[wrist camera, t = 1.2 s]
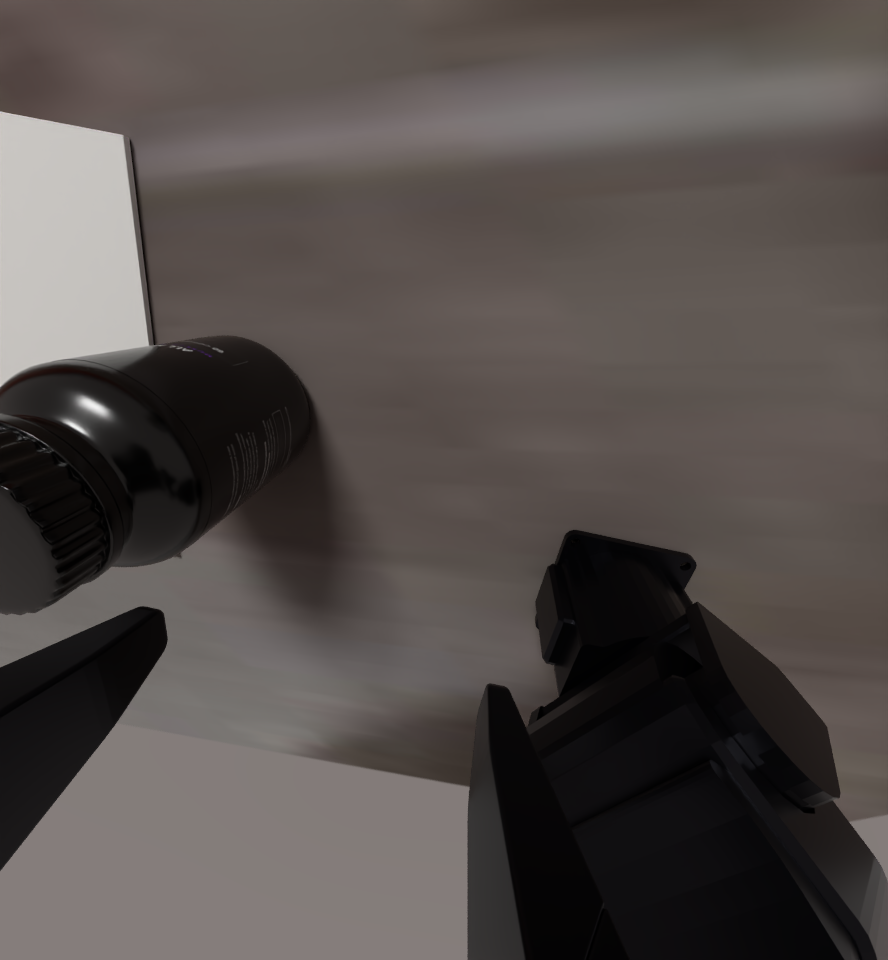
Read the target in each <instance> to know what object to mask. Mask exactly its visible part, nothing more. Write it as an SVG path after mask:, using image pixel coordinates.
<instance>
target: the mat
mask: <svg viewBox="0 0 888 960" xmlns="http://www.w3.org/2000/svg"><path fill="white" fill-rule="evenodd" d="M152 345H154V343H153V335H152V326H151V318H150V309H149V301H148V292H147V284H146V275H145V267H144V259H143V250H142V242H141V233H140V225H139V216H138V208H137V199H136V191H135V183H134V174H133V166H132V157H131V149H130V140H129V137H126V136H124V135H120V134H114V133H109V132H104V131H99V130H93V129H88V128H83V127H78V126H72V125H67V124H62V123H57V122H51V121H46V120H41V119H36V118H31V117H25V116H20V115H15V114H10V113H4V112H0V387H1V386H2V385H3V384H4V383H5V382H6V381H7V380H8V379H9V378H11V377H12V376H14V375H15V374H17V373H18V372H20V371H22V370H25V369H27V368H29V367H32V366H35V365H38V364H42V363H47V362H52V361H56V360H62V359H69V358H75V357H82V356H88V355H94V354H101V353H107V352H114V351H120V350H127V349H133V348H139V347H146V346H152Z"/></svg>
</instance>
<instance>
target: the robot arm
mask: <svg viewBox="0 0 888 960" xmlns="http://www.w3.org/2000/svg"><path fill="white" fill-rule="evenodd" d="M575 538H577V539H579V541H578V542H576V543H572V542H571V540H572V539H575ZM684 562H687V564H686V565H684V566H680V565H681V564H682V563H684ZM695 569H696V562H695V560H694V559H693V558H692V557H691V556H690V555H689V554H686V553H682V552H677V551H672V550H668V549H663V548H658V547H654V546H649V545H644V544H639V543H635V542H630V541H625V540H621V539H616V538H611V537H607V536H602V535H597V534H593V533H588V532H583V531H579V530H572V531H569V532H568V533H566V535H565V536H564V539H563V542H562V545H561V548H560V550H559V553H558V556H557V559H556V561H555V564H551V565H550V566H548V568H547V570H546V573H545V576H544V579H543V582H542V585H541V587H540V590H539V593H538V596H537V599H536V610H537V614H536V617H535V623H536V627H537V628H538V629H539V634H540V642H541V650H542V658H543V659H544V661H545V662H546V663H547V664H551V665H554V668H555V675H556V681H557V688H558V694H559V698H557V699H556V700H554V701H553V702H551V703H550V704H548V705H547V706H545V707H543V706H540V707H539V708H537V709H536V710H534V711H533V712H532V713H531V717H530V721H529V724H528V727H527V728H526V727H525V725H524V722H523V720H522V718H521V716H520V713H519V711H518V709H517V707H516V704H515V702H514V700H513V698H512V696H511V693H510V691H509V690H508V688H506V687H504V686H500V685H496V684H491V683H490V684H487V686H486V688H485V691H484V694H483V697H482V700H481V704H480V707H479V710H478V715H477V721H476V731H475V741H474V751H473V760H472V770H471V780H470V790H469V803H468V960H888V882H887V879H886V876H885V874H884V871H883V869H882V867H881V865H880V864H879V862H878V861H877V859H876V857H875V856H874V855H873V853H872V852H871V851H870V849H869V848H868V847H867V845H866V844H865V843H864V841H863V840H862V839H861V838H860V836H859V835H858V833H857V832H856V831H855V830H854V828H853V827H852V826H851V824H850V823H849V822H848V820H847V819H846V818H845V816H844V815H843V814H842V812H841V811H840V810H839V808H838V807H837V806H836V804H835V803H834V802H833V800H836V799H838V798H840V788H839V783H838V778H837V773H836V768H835V763H834V759H833V754H832V749H831V744H830V739H829V734H828V729H827V726H826V725H825V723H824V722H823V721H822V720H821V718H820V717H819V716H818V715H817V713H816V712H815V711H814V710H813V709H812V707H811V706H810V705H809V704H808V703H807V702H806V700H805V699H804V698H803V697H802V696H801V694H800V693H799V692H798V691H797V690H796V688H795V687H794V686H793V685H792V684H791V682H790V681H789V680H788V679H787V678H786V676H785V675H784V674H783V673H782V672H781V671H780V669H779V668H778V667H777V666H775V665H774V664H773V663H772V662H771V661H769V660H768V659H767V658H766V657H765V656H763V655H762V654H761V653H760V652H758V651H757V650H756V649H755V648H754V647H752V646H751V645H750V644H749V643H748V642H746V641H745V640H744V639H743V638H741V637H740V636H739V635H738V634H737V633H735V632H734V631H733V630H732V629H730V628H729V627H728V626H727V625H726V624H724V623H723V622H722V621H721V620H719V619H718V618H717V617H716V616H715V615H713V614H712V613H711V612H710V611H709V610H707V609H706V608H705V607H704V606H702V605H701V604H700V603H699V602H696V603H694V604H693V603H692V602H691V600H690V598H689V597H688V595H687V594H686V592H685V590H684V589H685V587H686V585H687V583H688V582H689V580H690V578H691V576H692V574H693V572H694V571H695ZM167 640H168V637H167V631H166V624H165V618H164V613H163V612H162V611H161V610H159V609H154V608H150V607H144V606H142V607H137V608H135V609H132V610H130V611H128V612H126V613H123V614H121V615H119V616H117V617H114V618H112V619H110V620H107V621H105V622H103V623H101V624H98V625H96V626H94V627H92V628H89V629H87V630H85V631H82V632H80V633H78V634H76V635H73V636H71V637H69V638H67V639H64V640H62V641H60V642H57V643H55V644H53V645H51V646H48V647H46V648H44V649H42V650H39V651H37V652H35V653H32V654H30V655H28V656H26V657H23V658H21V659H19V660H17V661H14V662H12V663H10V664H7V665H5V666H3V667H1V668H0V871H1V869H2V868H3V867H4V866H5V864H6V863H7V862H8V861H9V859H10V858H11V857H12V856H13V854H14V853H15V852H16V850H17V849H18V848H19V846H20V845H21V844H22V843H23V841H24V840H25V839H26V838H27V837H28V835H29V834H30V833H31V831H32V830H33V829H34V828H35V826H36V825H37V824H38V822H39V821H40V820H41V819H42V817H43V816H44V815H45V814H46V812H47V811H48V810H49V809H50V807H51V806H52V805H53V803H54V802H55V801H56V800H57V798H58V797H59V796H60V795H61V793H62V792H63V791H64V790H65V788H66V787H67V786H68V785H69V783H70V782H71V781H72V779H73V778H74V777H75V776H76V774H77V773H78V772H79V771H80V769H81V768H82V767H83V766H84V764H85V763H86V762H87V760H88V759H89V758H90V757H91V755H92V754H93V753H94V751H95V750H96V749H97V748H98V747H99V745H100V744H101V743H102V741H103V740H104V739H105V738H106V736H107V735H108V734H109V732H110V731H111V730H112V728H113V727H114V726H115V724H116V723H117V721H118V720H119V719H120V717H121V716H122V714H123V713H124V711H125V710H126V708H127V707H128V705H129V704H130V702H131V701H132V699H133V698H134V696H135V695H136V693H137V691H138V690H139V688H140V687H141V685H142V684H143V682H144V681H145V679H146V678H147V676H148V675H149V673H150V672H151V670H152V669H153V667H154V666H155V664H156V663H157V661H158V660H159V658H160V657H161V655H162V653H163V652H164V650H165V648H166V645H167Z"/></svg>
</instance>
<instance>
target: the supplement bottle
mask: <svg viewBox="0 0 888 960" xmlns="http://www.w3.org/2000/svg"><path fill="white" fill-rule="evenodd" d="M309 429H310V411H309V406H308V402H307V398H306V395H305V393H304V390H303V388H302V386H301V384H300V382H299V380H298V379H297V377H296V376H295V374H294V373H293V371H292V370H291V369H290V368H289V366H288V365H287V364H286V363H285V362H284V361H283V360H282V359H281V358H280V357H279V356H277V355H276V354H275V353H274V352H272V351H271V350H269V349H268V348H266V347H264V346H263V345H261V344H259V343H257V342H254V341H252V340H249V339H245V338H242V337H237V336H212V337H204V338H197V339H191V340H184V341H178V342H172V343H165V344H159V345H152V346H146V347H139V348H133V349H127V350H120V351H114V352H107V353H101V354H94V355H88V356H82V357H75V358H69V359H62V360H56V361H52V362H47V363H42V364H38V365H35V366H32V367H29V368H27V369H25V370H22V371H20V372H18V373H17V374H15V375H14V376H12V377H11V378H9V379H8V380H7V381H6V382H5V383H4V384H3V385H2V386H1V387H0V613H2V614H5V615H8V614H11V613H12V614H17V615H23V614H25V613H36V612H38V611H40V610H42V609H43V608H46V607H48V606H50V605H52V604H54V603H56V602H57V601H58V600H60V599H61V598H63V597H64V596H66V595H67V594H69V593H70V592H72V591H73V590H74V589H76V588H77V587H79V586H80V585H82V584H85V583H88V582H91V581H93V580H95V579H96V578H98V577H99V576H100V575H102V574H103V573H104V572H106V571H107V570H108V569H109V568H111V567H138V566H145V565H151V564H155V563H159V562H162V561H165V560H167V559H170V558H172V557H174V556H176V555H177V554H179V553H181V552H182V551H183V550H185V549H186V548H188V547H189V546H190V545H192V544H193V543H194V542H196V541H197V540H198V539H199V538H201V537H202V536H203V535H204V534H206V533H207V532H208V531H209V530H211V529H212V528H213V527H214V526H215V525H217V524H218V523H219V522H220V521H222V520H223V519H224V518H225V517H227V516H228V515H229V514H230V513H231V512H233V511H234V510H235V509H236V508H238V507H239V506H240V505H241V504H243V503H244V502H245V501H246V500H247V499H249V498H250V497H251V496H252V495H254V494H255V493H256V492H257V491H259V490H260V489H261V488H262V487H264V486H265V485H266V484H267V483H268V482H270V481H271V480H272V479H273V478H275V477H276V476H277V475H278V474H280V473H281V472H282V471H283V470H284V469H285V468H287V467H288V466H289V465H290V464H291V463H292V462H293V461H294V460H295V459H296V458H297V457H298V456H299V454H300V453H301V451H302V450H303V448H304V446H305V444H306V441H307V438H308V434H309Z"/></svg>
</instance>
